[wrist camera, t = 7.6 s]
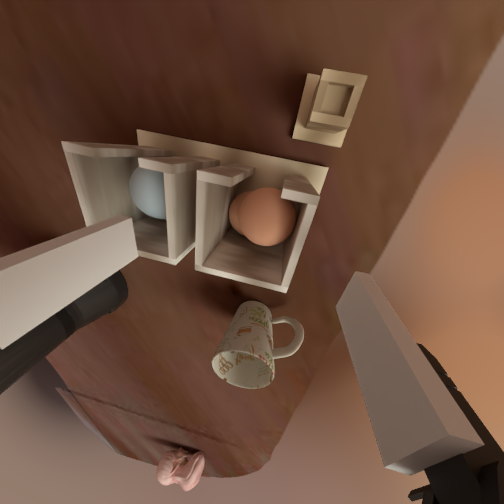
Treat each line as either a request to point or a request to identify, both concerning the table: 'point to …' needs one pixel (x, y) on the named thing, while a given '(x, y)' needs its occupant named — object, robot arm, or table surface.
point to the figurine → (180, 468)
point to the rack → (197, 202)
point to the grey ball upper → (148, 192)
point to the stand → (328, 106)
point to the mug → (252, 347)
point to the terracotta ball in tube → (237, 211)
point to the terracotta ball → (267, 217)
